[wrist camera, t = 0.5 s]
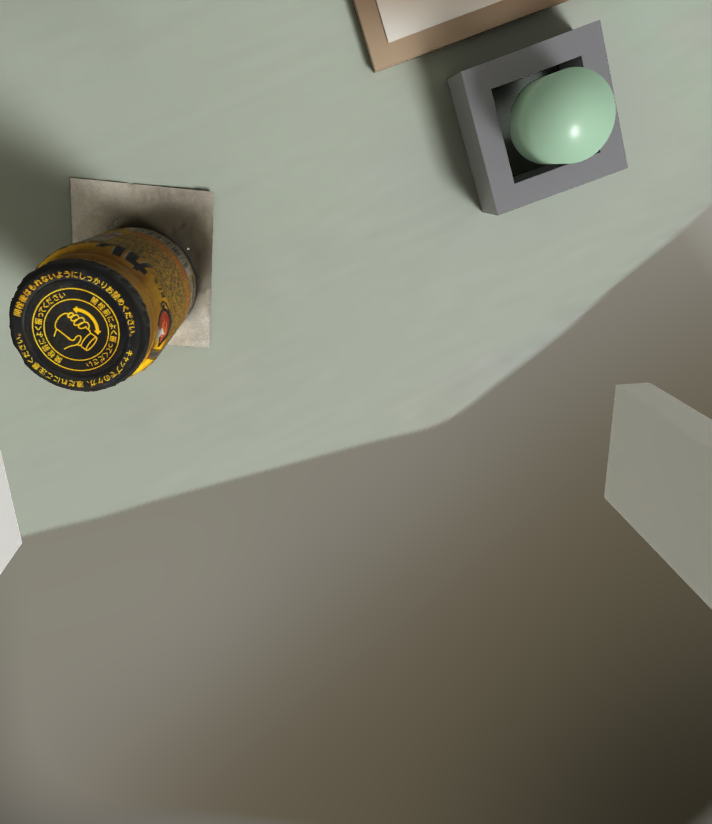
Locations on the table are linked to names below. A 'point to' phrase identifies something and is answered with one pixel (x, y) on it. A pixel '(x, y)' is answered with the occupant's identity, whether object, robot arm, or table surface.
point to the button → (563, 117)
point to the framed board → (432, 24)
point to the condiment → (118, 285)
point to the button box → (485, 132)
